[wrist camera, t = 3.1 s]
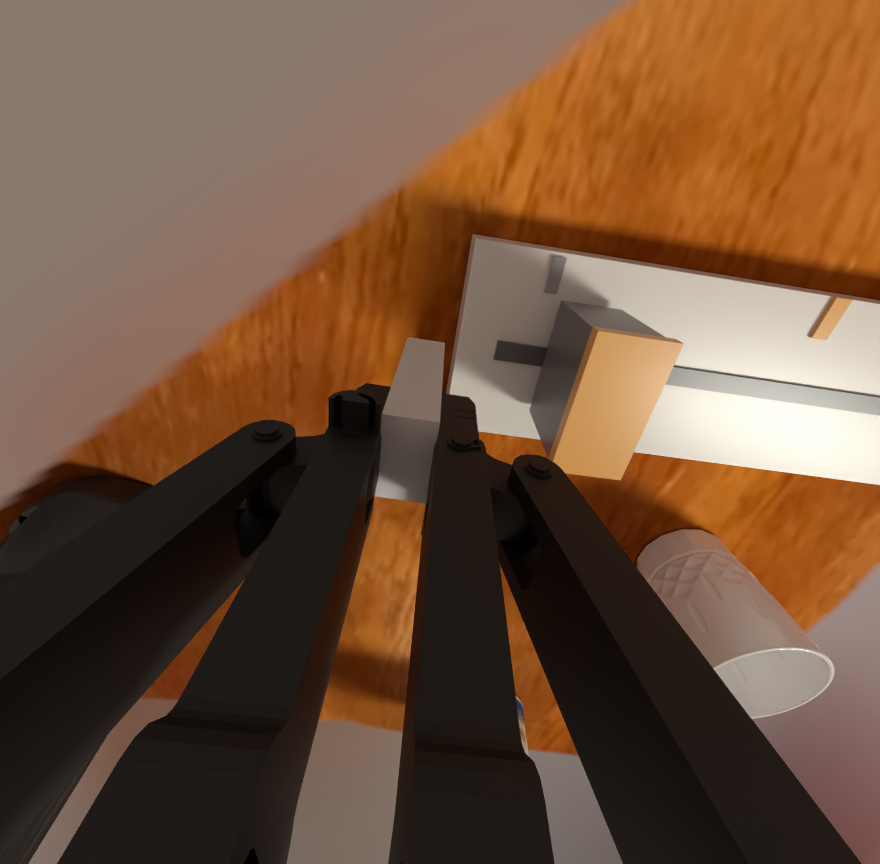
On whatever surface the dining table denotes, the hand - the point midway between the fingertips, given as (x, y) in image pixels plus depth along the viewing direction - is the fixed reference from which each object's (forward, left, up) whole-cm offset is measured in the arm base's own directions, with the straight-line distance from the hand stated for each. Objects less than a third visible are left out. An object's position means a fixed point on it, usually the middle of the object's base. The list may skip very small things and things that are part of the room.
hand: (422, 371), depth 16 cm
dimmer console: (+16, 0, -8) cm, 17 cm away
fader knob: (+8, 0, -4) cm, 9 cm away
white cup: (+23, -16, -8) cm, 29 cm away
